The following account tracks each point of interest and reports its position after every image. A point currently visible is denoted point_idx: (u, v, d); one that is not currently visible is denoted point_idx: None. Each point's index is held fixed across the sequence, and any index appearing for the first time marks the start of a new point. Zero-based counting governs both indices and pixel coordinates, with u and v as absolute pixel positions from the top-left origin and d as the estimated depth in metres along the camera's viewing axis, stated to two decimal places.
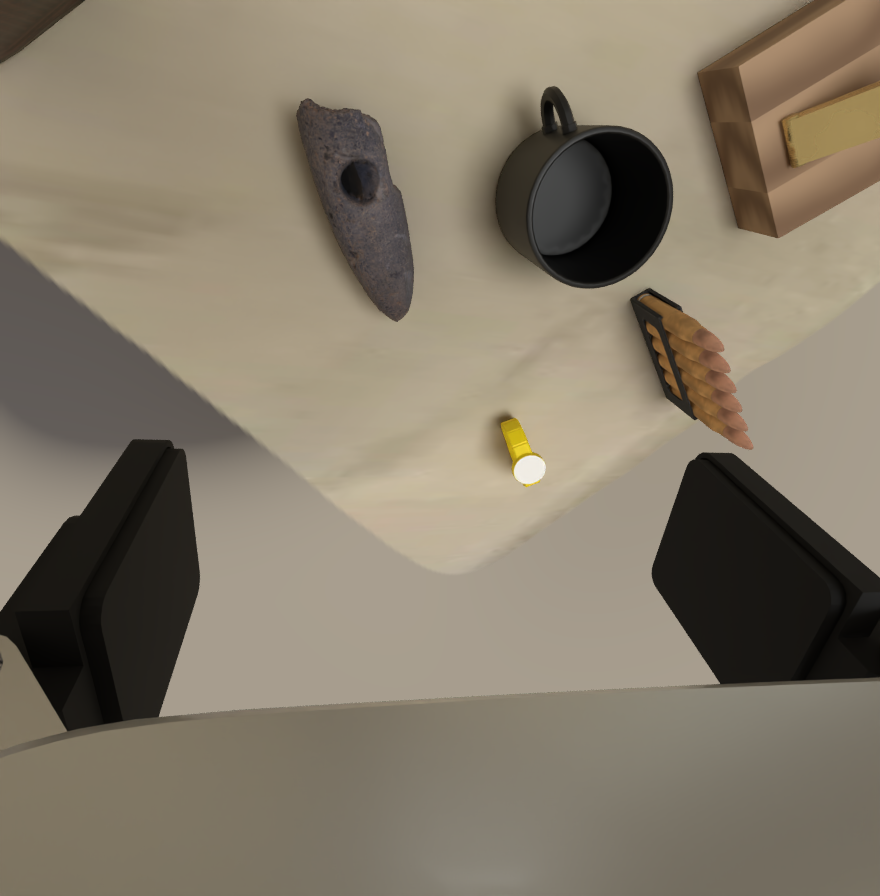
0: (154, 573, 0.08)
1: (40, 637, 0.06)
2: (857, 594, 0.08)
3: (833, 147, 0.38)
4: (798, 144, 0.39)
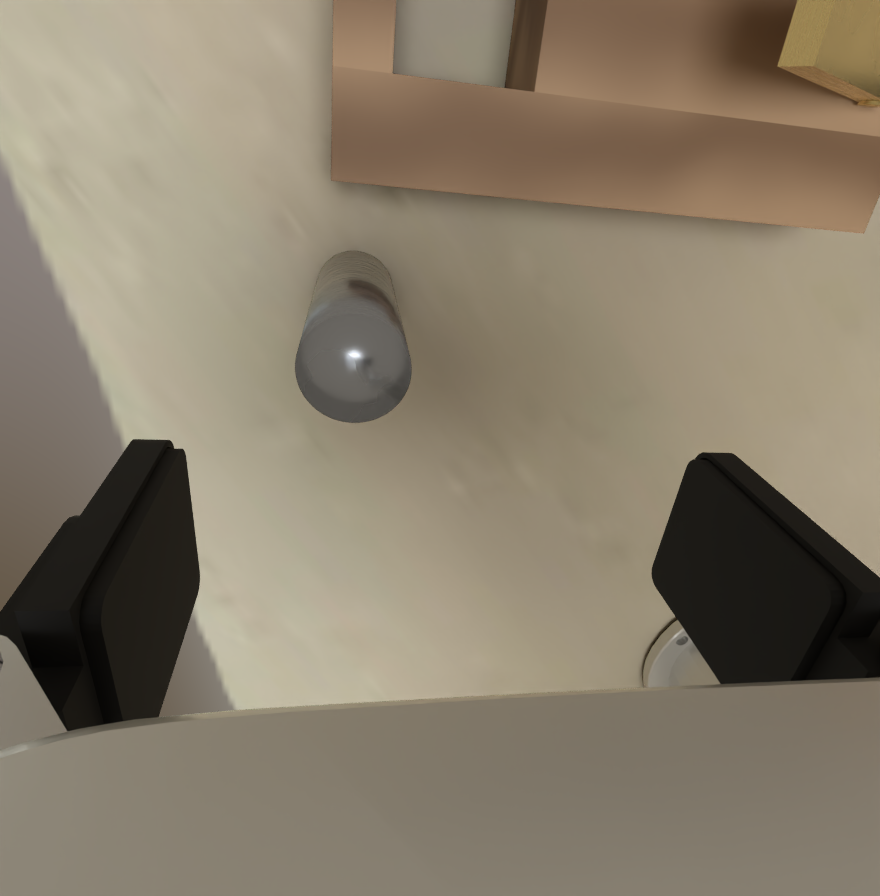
0: (154, 573, 0.08)
1: (40, 637, 0.06)
2: (857, 594, 0.08)
3: None
4: None
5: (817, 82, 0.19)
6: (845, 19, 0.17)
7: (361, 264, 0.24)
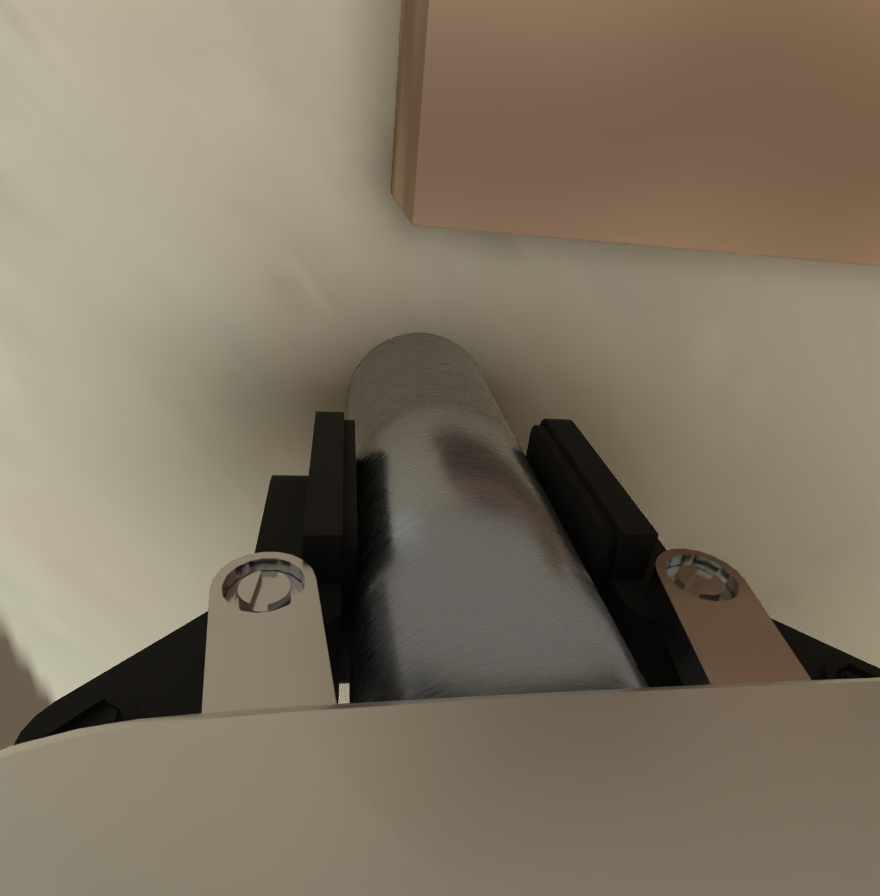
0: None
1: (315, 558, 0.08)
2: (624, 537, 0.08)
3: None
4: None
5: None
6: None
7: (450, 381, 0.12)
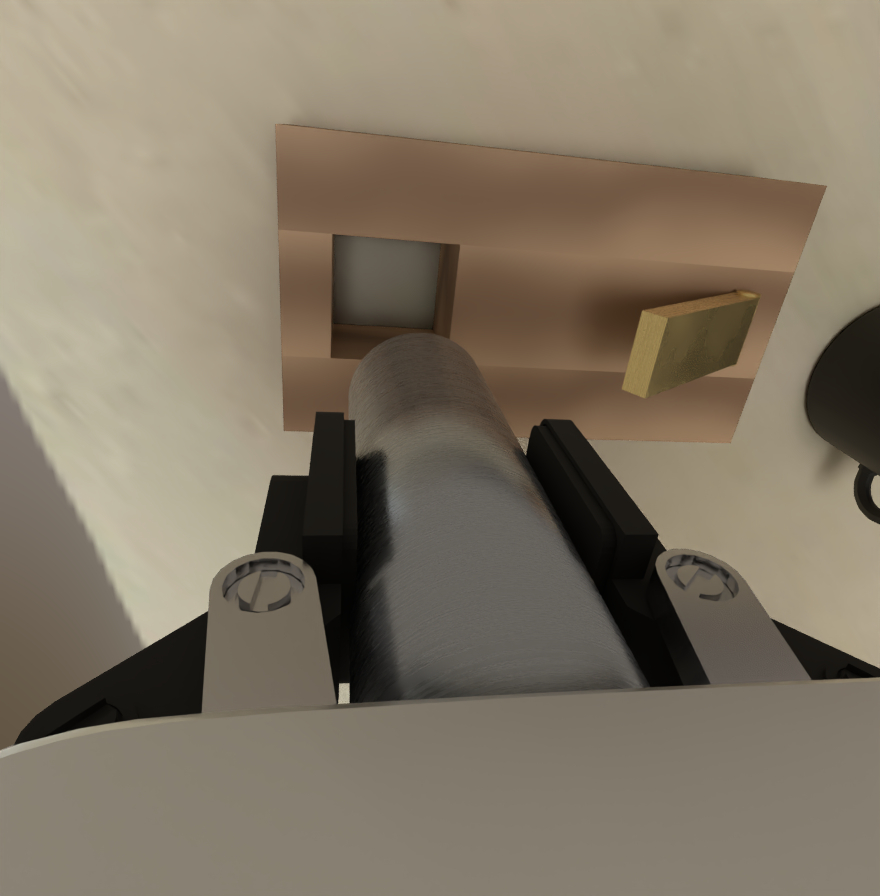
0: None
1: (315, 558, 0.08)
2: (624, 537, 0.08)
3: (737, 311, 0.24)
4: (747, 328, 0.26)
5: None
6: (670, 360, 0.22)
7: (450, 380, 0.12)
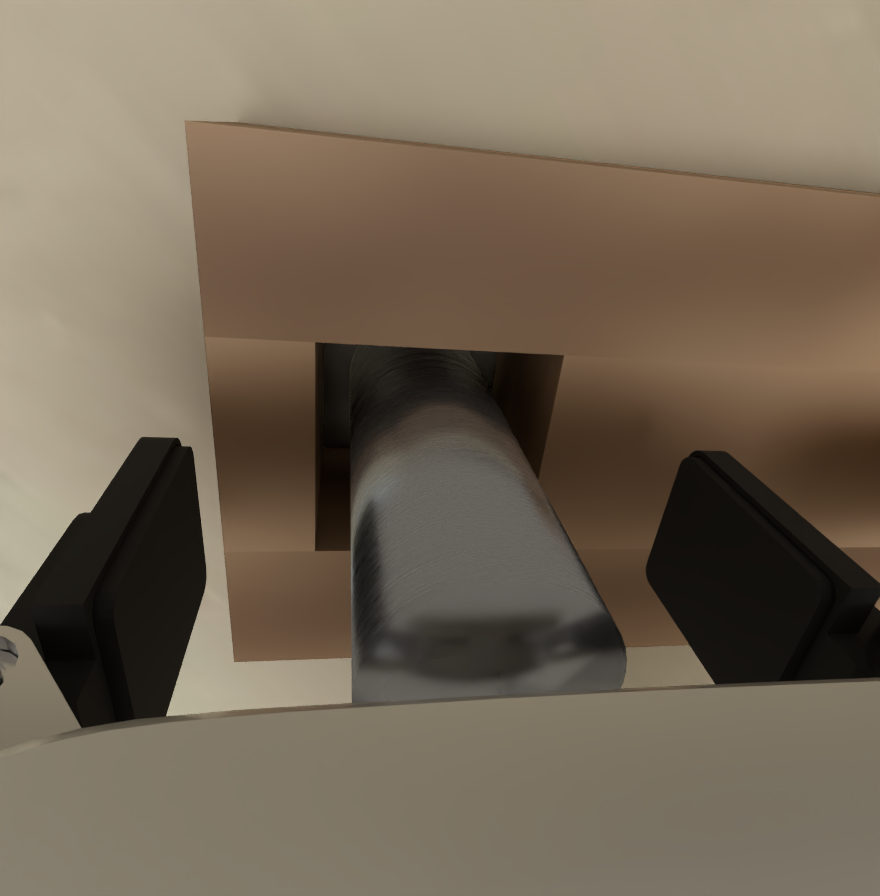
0: (163, 569, 0.08)
1: (54, 631, 0.06)
2: (846, 590, 0.08)
3: None
4: None
5: None
6: None
7: (439, 353, 0.14)
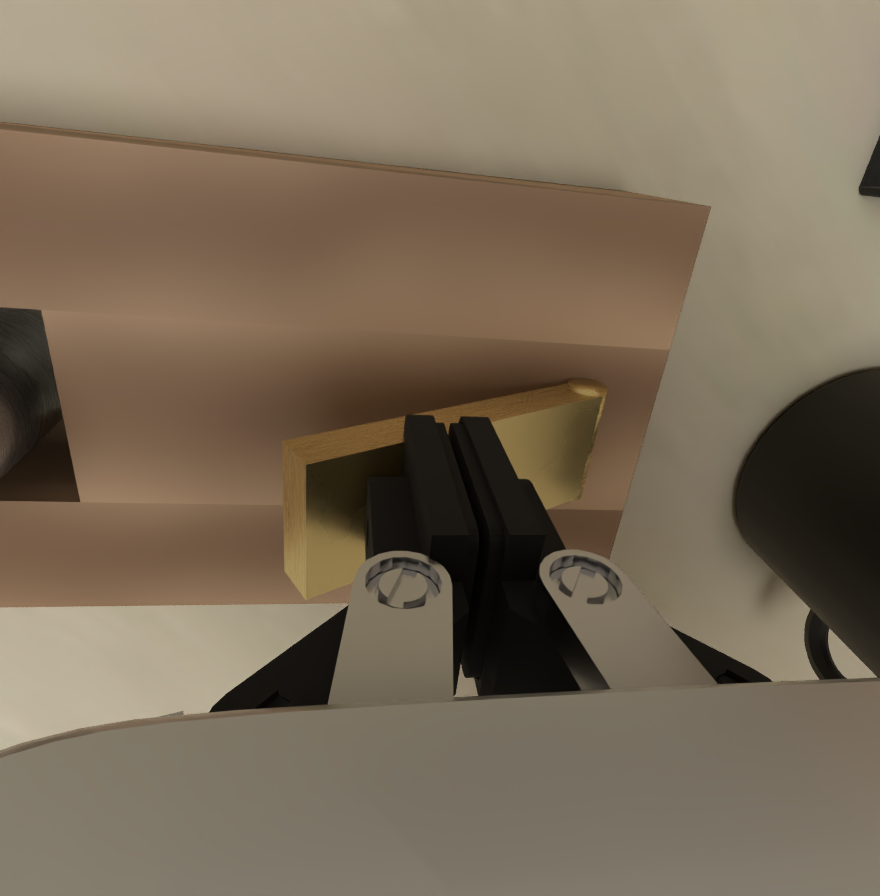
0: None
1: (441, 557, 0.08)
2: None
3: (544, 423, 0.14)
4: (585, 445, 0.15)
5: None
6: (360, 529, 0.11)
7: None
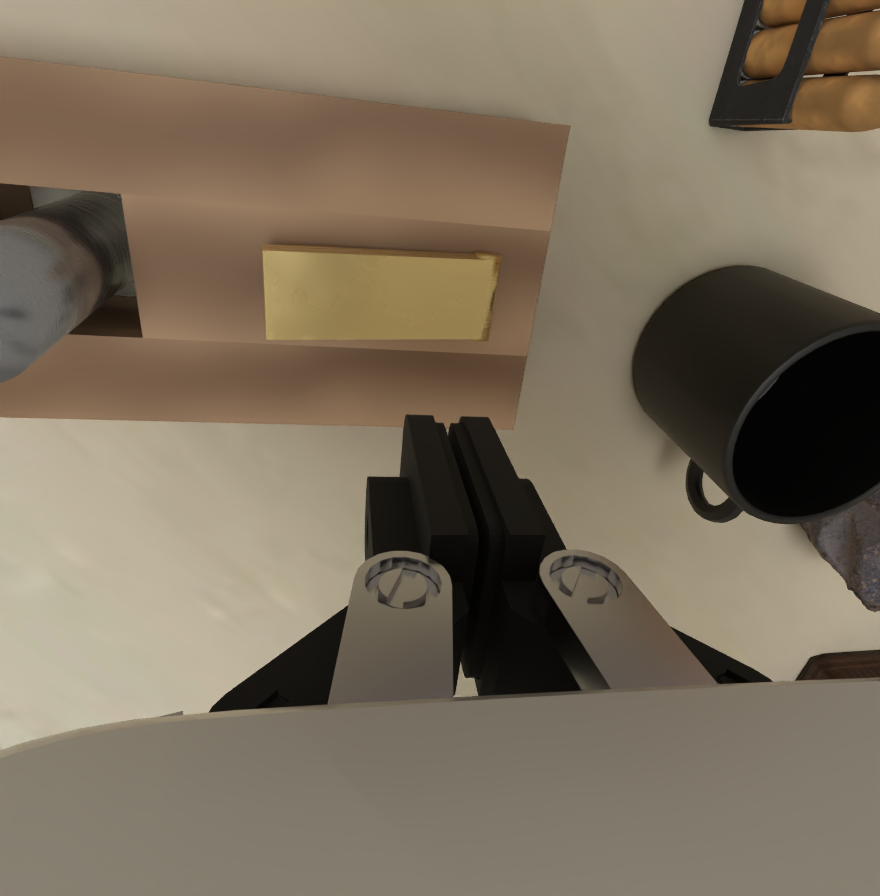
0: None
1: (440, 556, 0.08)
2: None
3: (439, 268, 0.21)
4: (482, 297, 0.22)
5: None
6: (299, 304, 0.20)
7: (73, 203, 0.21)
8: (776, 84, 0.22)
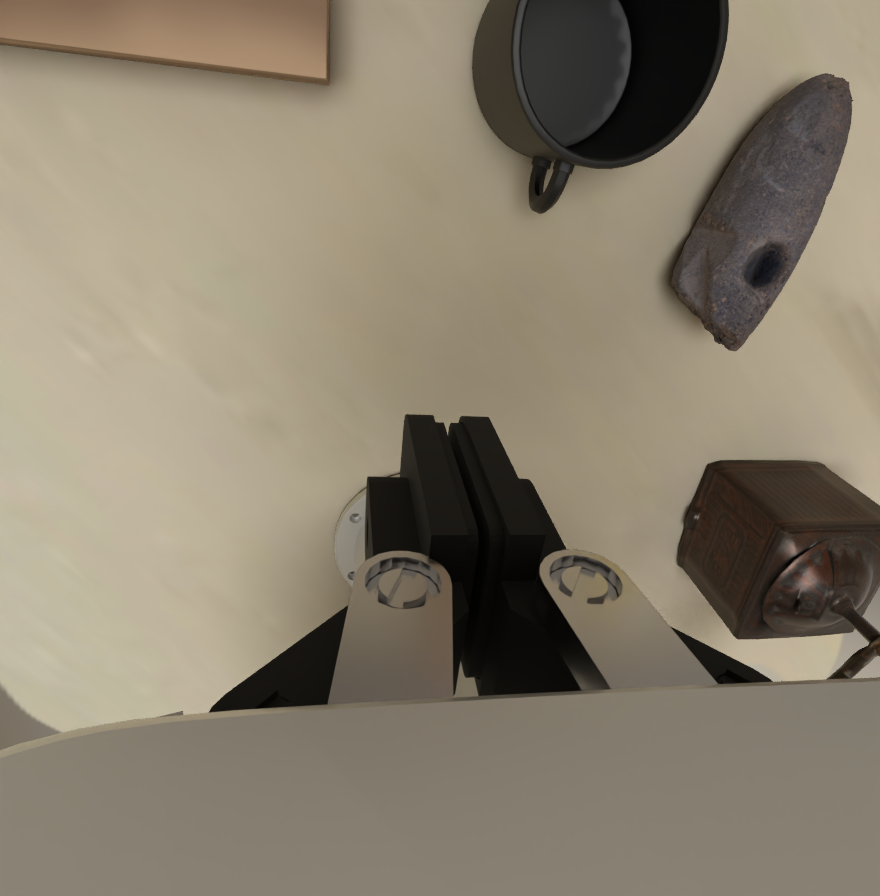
0: None
1: (440, 556, 0.08)
2: None
3: None
4: None
5: None
6: None
7: None
8: None
